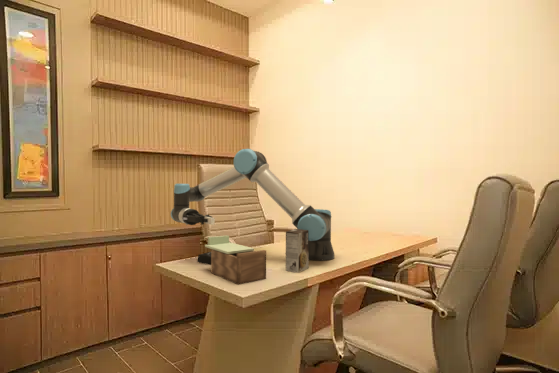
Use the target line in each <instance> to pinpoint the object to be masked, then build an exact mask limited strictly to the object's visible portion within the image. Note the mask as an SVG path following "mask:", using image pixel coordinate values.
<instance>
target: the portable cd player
mask: <svg viewBox="0 0 559 373" xmlns="http://www.w3.org/2000/svg"><path fill="white" fill-rule="evenodd" d="M198 262H199V264H205V265H210V266H211V251H209V252H205V253H200V254H198V256H197V263H198Z"/></svg>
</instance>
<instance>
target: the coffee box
mask: <svg viewBox="0 0 559 373" xmlns="http://www.w3.org/2000/svg"><path fill="white" fill-rule="evenodd" d="M307 269H309V259H308V230H303V229H297V228H294V229H289V230H287V231H285V271H286V272H293V273H301V272H303V271H305V270H307Z"/></svg>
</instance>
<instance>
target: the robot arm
mask: <svg viewBox="0 0 559 373" xmlns="http://www.w3.org/2000/svg"><path fill="white" fill-rule="evenodd" d="M244 179H248V181H250V182H251V183H256V184H257V185H258V186H259V187H260V188H261V189H262V190H263V191H264V192H265V193H266V194H267V196H269V197H270V198H271V199H272V200H273V201H274V202H275V204H276V205H278V206H279V207H280V208H281V209H282V210H283V211H284V212H285V213H286V214H287V215H288V216H289V217H290V218H291V222H292V223H291V224H292V225H293V226H294V227H295V229H303V230H308V260H310V261H330V260H334V259H335V251H334V247H333V245H332V240H331V239H332V212H331V210H330V209H323V208H321V209H320V208H319V209H318V208H314V207H313V206H312V205H311V204H305V203H304V202H303V201H302V200H301V199H300V198H299V197H298V196H297V195H296V194H295V193H294V192H293V191H292V190H291V189H290V188H289V187H288V186H287V185H286V184H284V183H283V181H282V180H281V179H280V178H279V177H277V175H276V174H275V173H274V172H273V171H272V170H271V169H270V165H269V163H268V161H267V158H266V156H265V155H264V154H263V153H262V152H260V151H257V150H254V149H251V148H243V149H240V150H239V151H237V152H236V153H235V155H234V158H233V167H231V168H230V169H228V170H226V171H223V172H221V173H219V174H218V175H215V176H214V177H213V176H212V177H211V178H210V179H207V180H205V181H203V182H201V183H199V184H198V185H195V186H193V187H192V186H190V185H191V184H189V183H175V184H174V187H173V208H172V209H171V211H170V217H171V219H172V220H173V221H175V222H177V223H182V224H185V225H186V226H188V225H190V226H194V225H196V224H199V223H201V224H200V225H201V226H202V225H204V224H207V225H212V226H213V225H215V223H216V222H215V221H216V220H215V217H213V216H212V215H209V214H206V215H203V214H201V213H200V212H199V211H198V210H197V209H194V208H190V203H192V202H201V201H203V200H204V199H205V198H206V197H209V196H210V195H212V194H215V193H217V192H219V191H221V190H223V189H225V188H227V187H230V186H231V185H234V184H236V183H238V182H241V181H242V180H244Z"/></svg>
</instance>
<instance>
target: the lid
mask: <svg viewBox="0 0 559 373" xmlns="http://www.w3.org/2000/svg"><path fill="white" fill-rule="evenodd" d="M204 247H205V248H207V249H210V250H216V251H220V252H223V253H226V254H233V253H240V252H248V251H255V248H253V247H250V246H247V245H242V244H238V243H234V242H230V235H219V236H217V235H216V236H208V237H207V244H204Z"/></svg>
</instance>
